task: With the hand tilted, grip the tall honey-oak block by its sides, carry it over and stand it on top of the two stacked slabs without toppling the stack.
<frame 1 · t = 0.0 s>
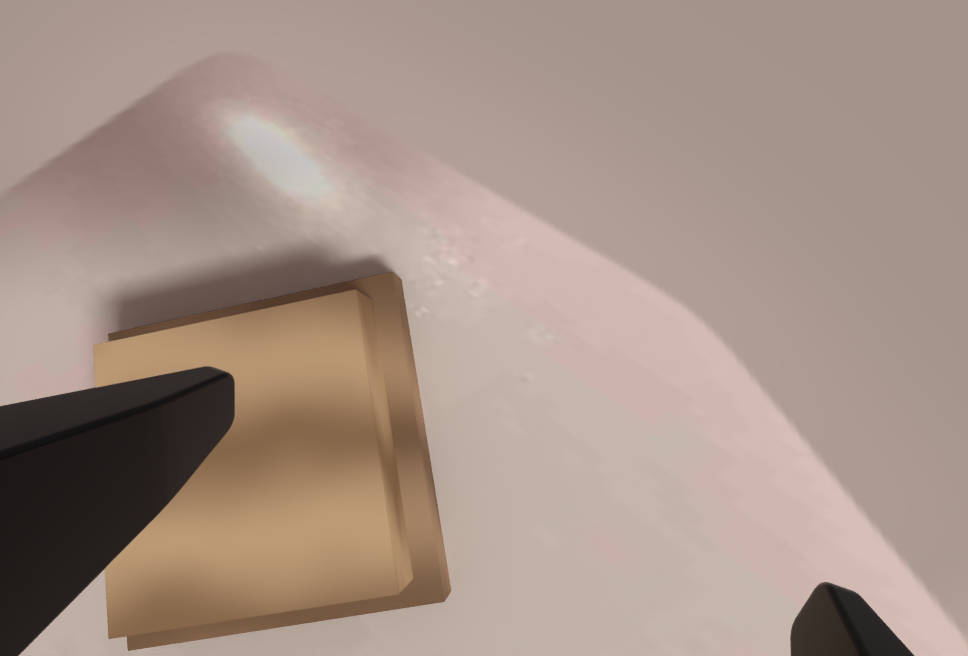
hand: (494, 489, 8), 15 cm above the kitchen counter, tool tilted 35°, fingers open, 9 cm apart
top slab: (262, 457, 23), point 1 cm above the kitchen counter, touching bottom slab
bottom slab: (286, 454, 25), on the kitchen counter, touching top slab
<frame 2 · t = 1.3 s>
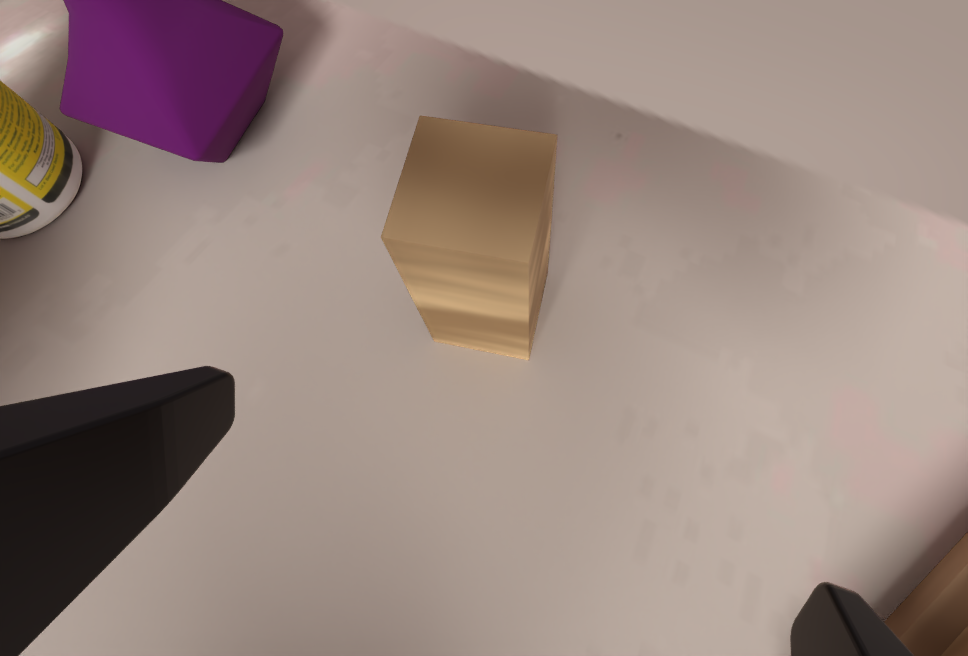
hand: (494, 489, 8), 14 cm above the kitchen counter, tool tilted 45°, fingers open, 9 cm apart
pill bottle: (30, 189, 28), on the kitchen counter
oak block: (491, 306, 24), on the kitchen counter
perfume bottle: (213, 121, 29), on the kitchen counter
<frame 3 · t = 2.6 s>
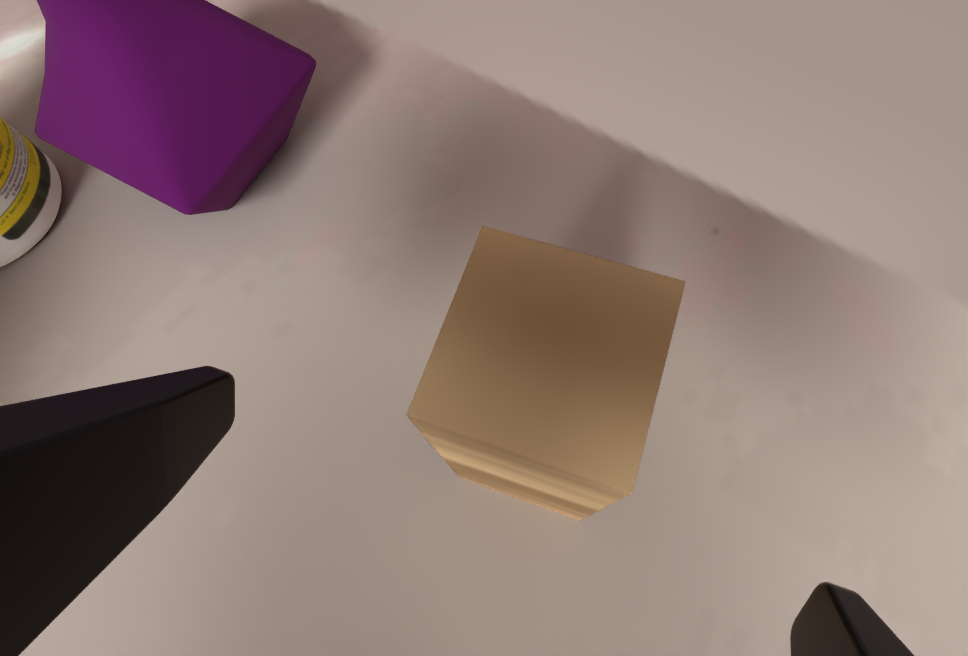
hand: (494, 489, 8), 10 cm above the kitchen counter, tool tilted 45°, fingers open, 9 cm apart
oak block: (537, 438, 19), on the kitchen counter
perfume bottle: (223, 157, 24), on the kitchen counter
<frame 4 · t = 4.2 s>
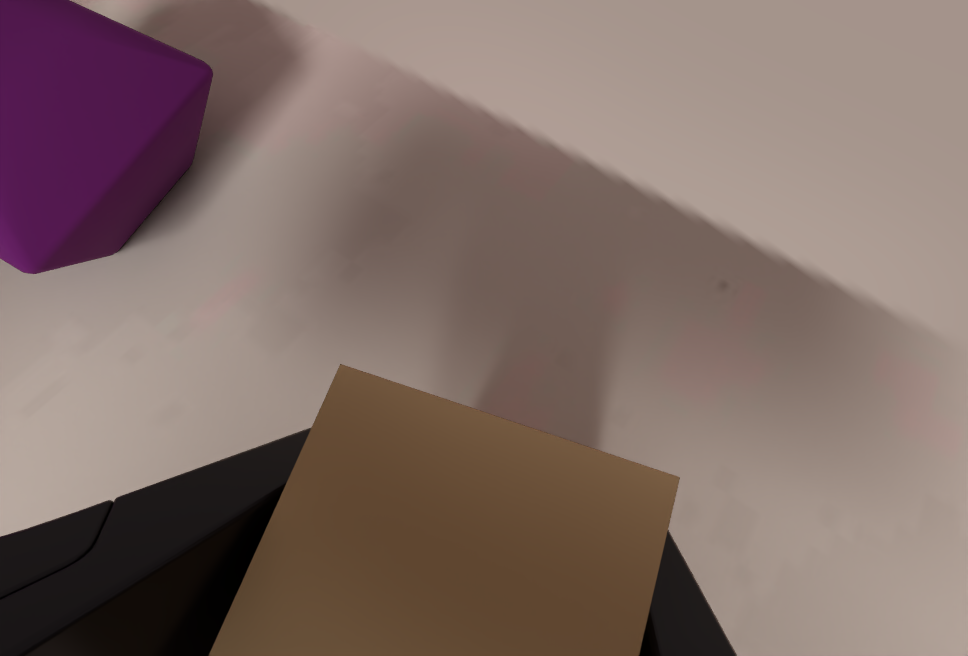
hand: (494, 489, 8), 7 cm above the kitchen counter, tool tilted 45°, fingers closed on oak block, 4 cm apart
oak block: (489, 568, 14), on the kitchen counter, touching gripper
perfume bottle: (114, 187, 19), on the kitchen counter
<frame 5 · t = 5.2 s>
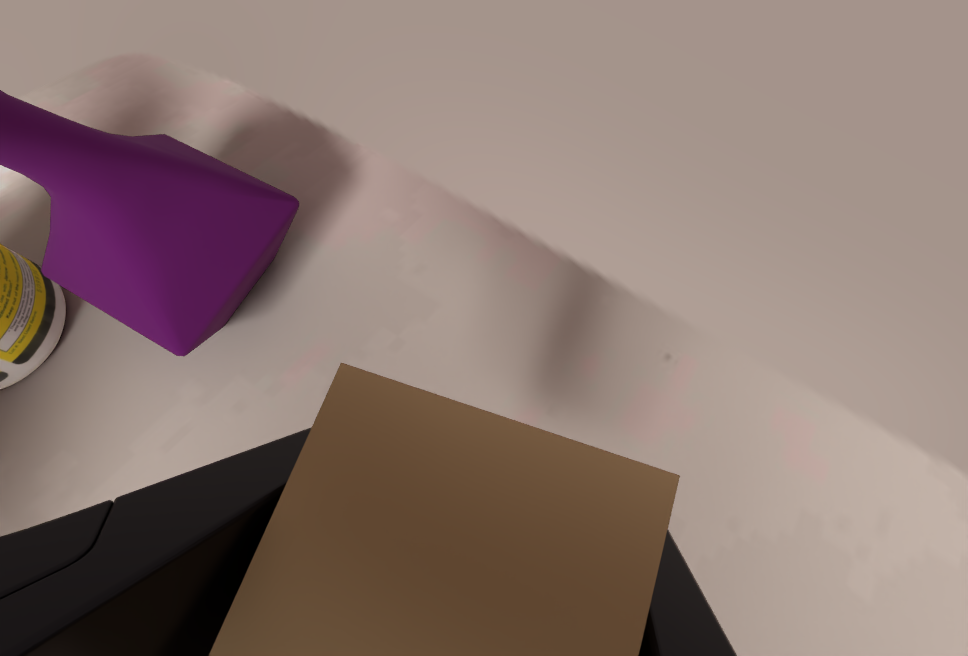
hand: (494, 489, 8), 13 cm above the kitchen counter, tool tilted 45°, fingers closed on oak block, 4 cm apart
pill bottle: (8, 331, 25), on the kitchen counter
oak block: (489, 567, 14), point 7 cm above the kitchen counter, touching gripper
perfume bottle: (215, 274, 26), on the kitchen counter
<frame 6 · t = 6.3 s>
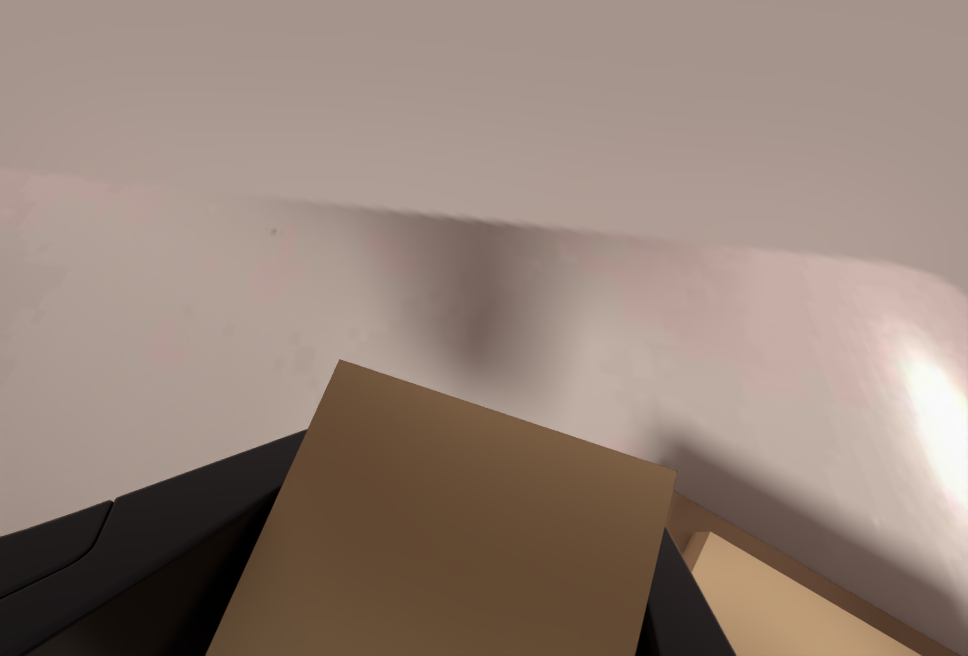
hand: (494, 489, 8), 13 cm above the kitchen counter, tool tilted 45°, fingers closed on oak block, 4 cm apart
oak block: (488, 565, 14), point 7 cm above the kitchen counter, touching gripper
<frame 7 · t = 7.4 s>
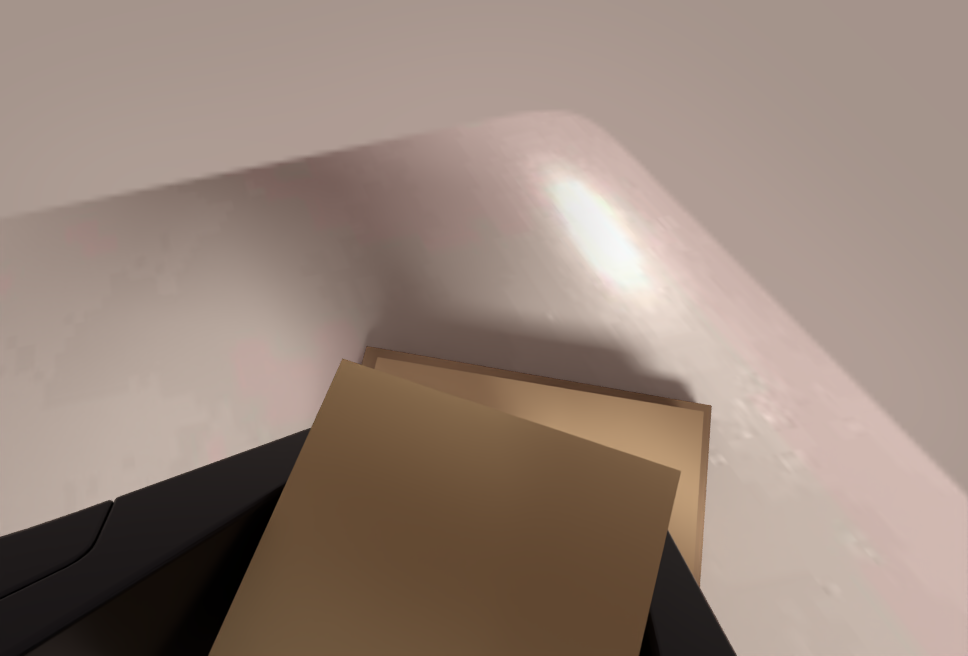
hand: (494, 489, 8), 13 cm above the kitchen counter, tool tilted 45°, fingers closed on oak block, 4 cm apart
top slab: (507, 555, 19), point 1 cm above the kitchen counter, touching bottom slab
oak block: (490, 565, 14), point 6 cm above the kitchen counter, touching gripper
bottom slab: (502, 557, 21), on the kitchen counter, touching top slab
when the fingers open (11 cm above the kitchen counter, at t = 9.3 s): oak block drops 1 cm, resting on top slab.
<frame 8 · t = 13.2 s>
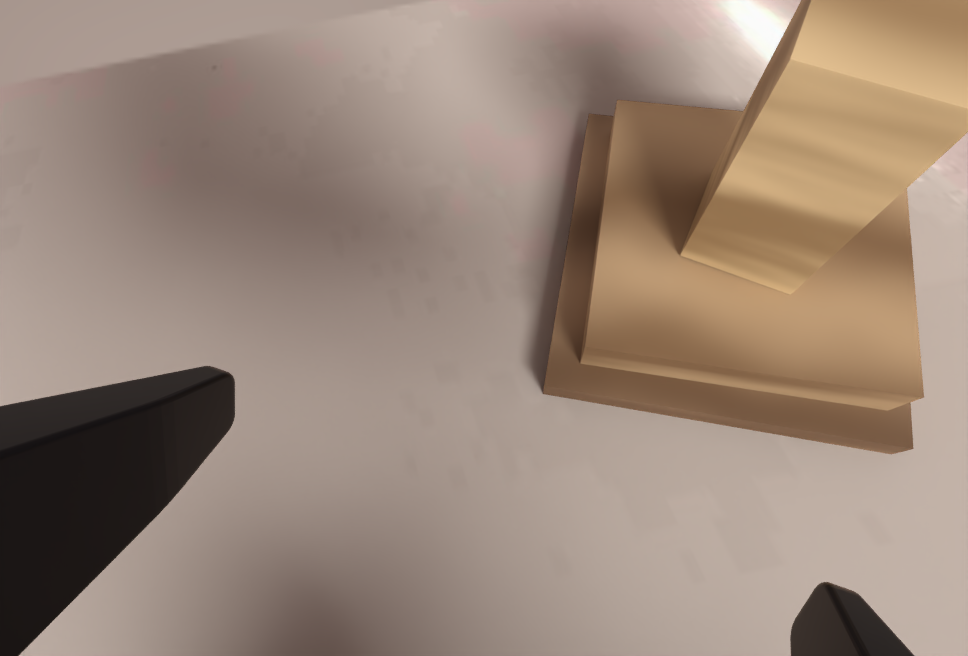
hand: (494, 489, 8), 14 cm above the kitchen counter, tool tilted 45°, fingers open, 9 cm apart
top slab: (733, 255, 23), point 1 cm above the kitchen counter, touching bottom slab, oak block
oak block: (749, 230, 21), point 3 cm above the kitchen counter, touching top slab
bottom slab: (714, 280, 25), on the kitchen counter, touching top slab
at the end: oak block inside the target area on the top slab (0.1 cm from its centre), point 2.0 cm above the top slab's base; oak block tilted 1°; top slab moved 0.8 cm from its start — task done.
